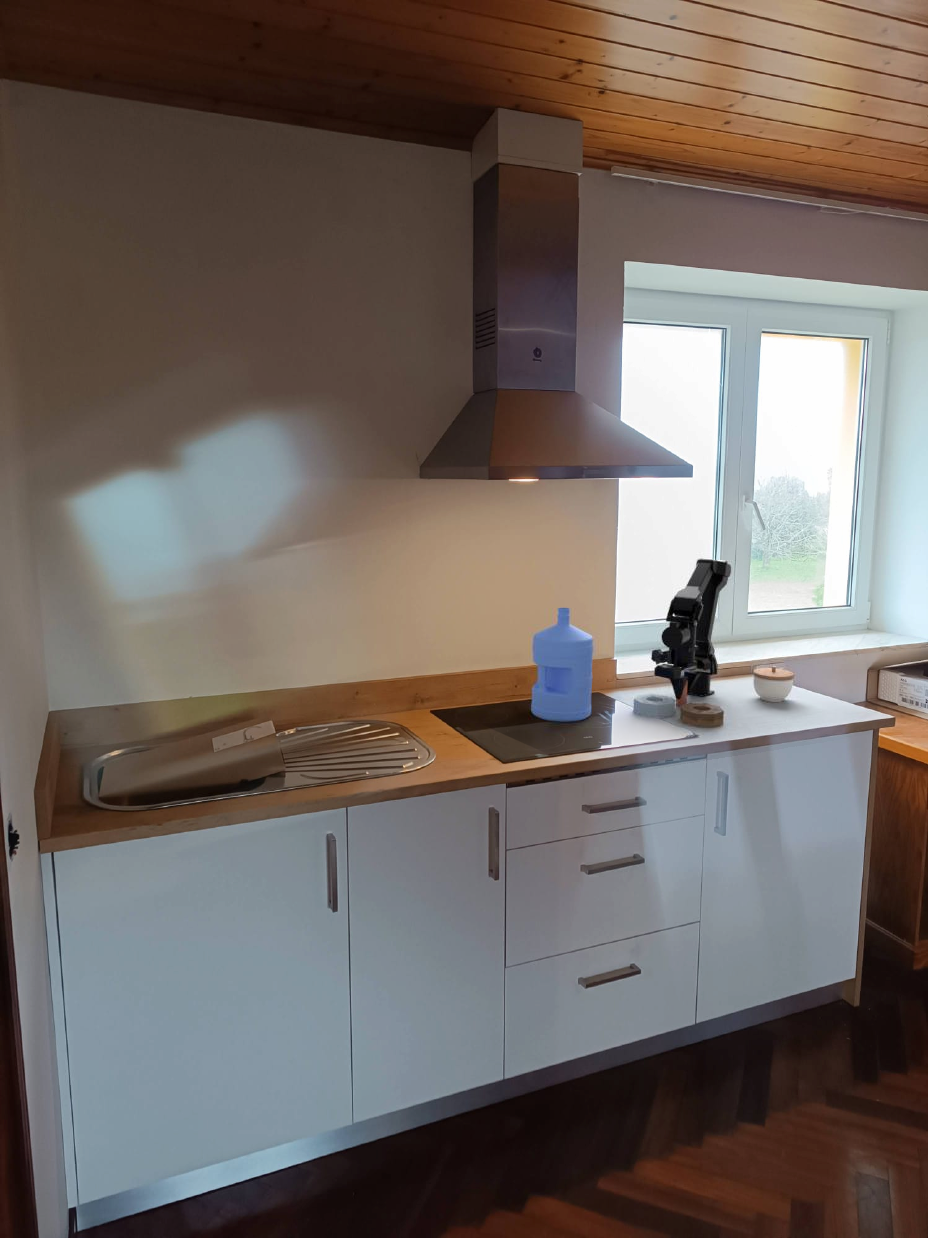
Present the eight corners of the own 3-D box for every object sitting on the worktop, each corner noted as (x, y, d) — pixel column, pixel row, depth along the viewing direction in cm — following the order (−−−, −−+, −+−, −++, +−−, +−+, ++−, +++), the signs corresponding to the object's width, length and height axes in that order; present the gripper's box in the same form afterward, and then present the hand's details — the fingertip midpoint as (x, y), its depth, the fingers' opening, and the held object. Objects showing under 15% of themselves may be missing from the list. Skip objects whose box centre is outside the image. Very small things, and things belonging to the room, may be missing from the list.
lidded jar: (752, 702, 236) (754, 669, 235) (751, 692, 246) (753, 661, 245) (793, 705, 233) (796, 672, 232) (790, 695, 243) (793, 663, 242)
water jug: (564, 702, 235) (567, 602, 230) (603, 716, 222) (607, 610, 217) (519, 711, 226) (521, 606, 221) (556, 726, 213) (559, 615, 208)
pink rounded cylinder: (679, 703, 235) (680, 678, 233) (688, 705, 233) (690, 680, 231) (673, 705, 233) (674, 680, 232) (682, 707, 231) (683, 682, 229)
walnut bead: (695, 713, 225) (695, 700, 224) (729, 722, 218) (730, 708, 217) (673, 721, 218) (673, 707, 218) (707, 729, 211) (708, 716, 210)
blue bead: (640, 705, 233) (640, 692, 232) (677, 709, 228) (677, 697, 228) (630, 714, 224) (631, 701, 223) (668, 719, 220) (669, 706, 219)
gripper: (678, 633, 242) (675, 686, 244) (638, 641, 229) (636, 698, 232) (713, 639, 234) (710, 694, 236) (674, 648, 221) (671, 706, 224)
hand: (681, 698), depth 232 cm, fingers closed on pink rounded cylinder, 3 cm apart
